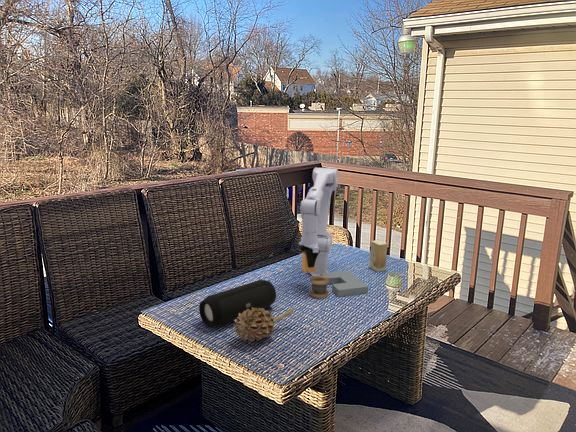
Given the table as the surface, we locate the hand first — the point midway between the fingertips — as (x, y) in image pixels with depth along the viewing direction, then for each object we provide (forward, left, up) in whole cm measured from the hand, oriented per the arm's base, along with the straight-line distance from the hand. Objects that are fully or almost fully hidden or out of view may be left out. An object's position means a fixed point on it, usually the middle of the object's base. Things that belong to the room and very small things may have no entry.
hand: (309, 265), depth 174 cm
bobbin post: (+8, +1, -9) cm, 12 cm away
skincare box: (-10, +35, -9) cm, 38 cm away
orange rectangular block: (0, 0, -2) cm, 2 cm away
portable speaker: (+17, -31, -9) cm, 36 cm away
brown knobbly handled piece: (+32, -26, -9) cm, 42 cm away
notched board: (+3, +13, -9) cm, 16 cm away
